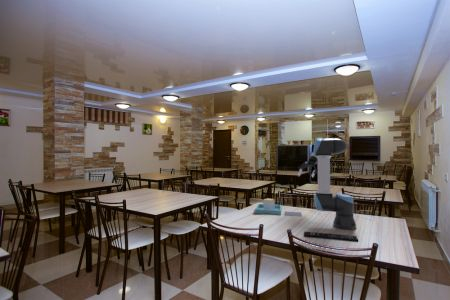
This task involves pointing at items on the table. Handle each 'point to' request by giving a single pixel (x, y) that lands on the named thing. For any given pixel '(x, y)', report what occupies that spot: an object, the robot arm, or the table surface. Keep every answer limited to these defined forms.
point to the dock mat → (293, 214)
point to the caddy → (269, 204)
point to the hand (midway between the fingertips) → (305, 175)
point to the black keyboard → (330, 236)
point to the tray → (261, 210)
